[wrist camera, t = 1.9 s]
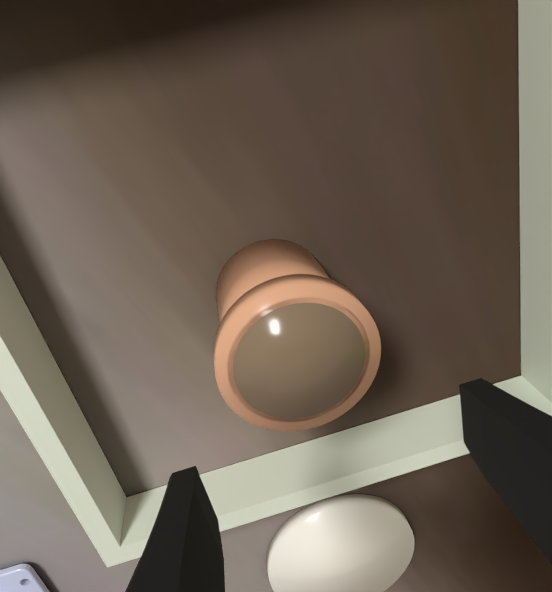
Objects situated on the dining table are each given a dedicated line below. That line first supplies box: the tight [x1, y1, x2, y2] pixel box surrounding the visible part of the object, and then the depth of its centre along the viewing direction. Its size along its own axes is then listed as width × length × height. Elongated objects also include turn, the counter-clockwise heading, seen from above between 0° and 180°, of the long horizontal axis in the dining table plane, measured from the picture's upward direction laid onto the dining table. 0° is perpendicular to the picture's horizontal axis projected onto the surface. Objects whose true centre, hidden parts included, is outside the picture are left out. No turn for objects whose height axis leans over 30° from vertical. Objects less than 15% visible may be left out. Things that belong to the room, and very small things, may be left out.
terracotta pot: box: [213, 239, 381, 431], centre depth 20 cm, size 6×6×6 cm
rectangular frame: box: [0, 0, 552, 567], centre depth 20 cm, size 24×24×3 cm
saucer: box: [266, 494, 415, 592], centre depth 30 cm, size 9×9×1 cm
